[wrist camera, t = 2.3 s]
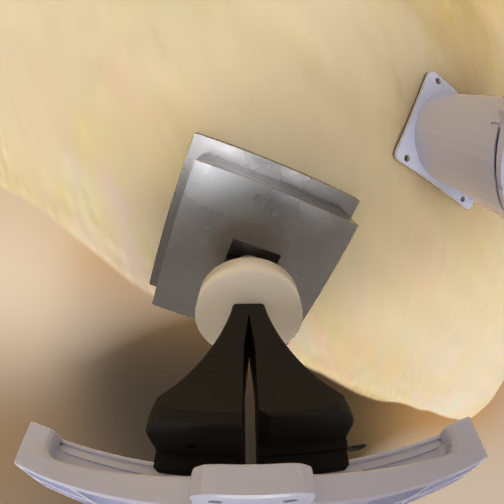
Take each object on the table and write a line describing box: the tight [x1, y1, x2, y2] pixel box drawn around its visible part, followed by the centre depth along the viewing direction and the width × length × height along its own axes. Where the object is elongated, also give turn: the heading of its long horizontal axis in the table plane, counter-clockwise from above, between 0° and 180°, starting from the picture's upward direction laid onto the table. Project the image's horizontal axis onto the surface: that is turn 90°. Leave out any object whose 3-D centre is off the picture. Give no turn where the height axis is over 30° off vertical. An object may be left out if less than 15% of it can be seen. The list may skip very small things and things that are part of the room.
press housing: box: [150, 133, 359, 345], centre depth 19 cm, size 12×12×4 cm
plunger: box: [195, 255, 303, 345], centre depth 15 cm, size 5×5×5 cm
